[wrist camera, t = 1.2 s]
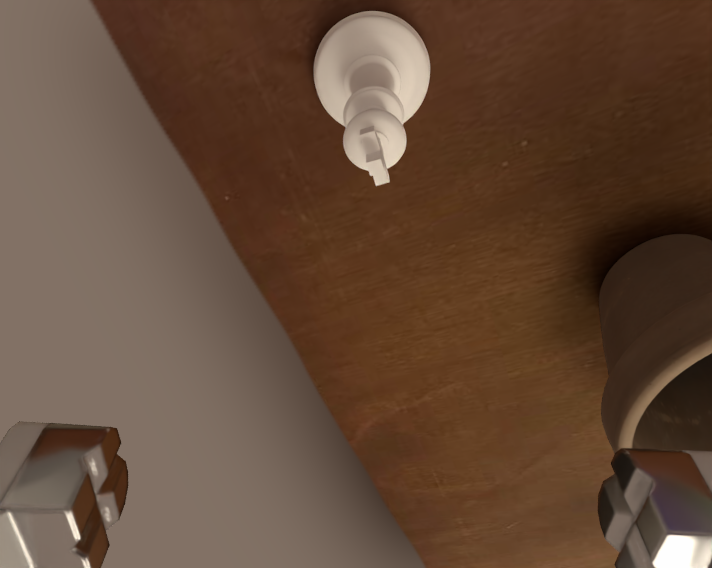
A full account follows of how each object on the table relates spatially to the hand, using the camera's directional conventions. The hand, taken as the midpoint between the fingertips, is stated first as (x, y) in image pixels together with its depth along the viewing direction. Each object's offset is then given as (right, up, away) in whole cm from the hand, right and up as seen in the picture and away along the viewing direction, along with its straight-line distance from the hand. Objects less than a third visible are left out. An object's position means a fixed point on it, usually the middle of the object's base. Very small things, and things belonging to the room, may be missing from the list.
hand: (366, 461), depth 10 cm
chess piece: (0, +12, +16) cm, 20 cm away
